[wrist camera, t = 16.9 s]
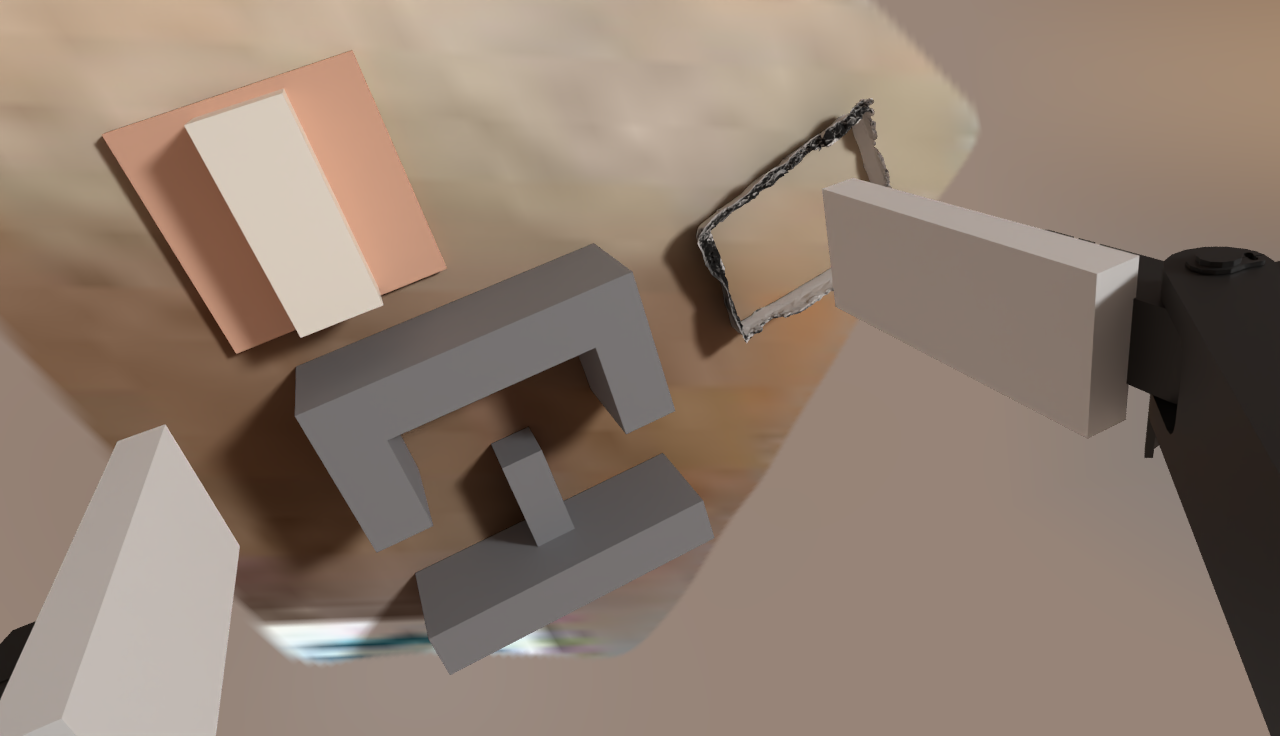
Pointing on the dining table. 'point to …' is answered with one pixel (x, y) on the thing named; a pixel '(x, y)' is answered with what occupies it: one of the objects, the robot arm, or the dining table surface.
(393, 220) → the terracotta mat
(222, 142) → the cream bar
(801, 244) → the dining table surface
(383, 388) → the pocket plate
